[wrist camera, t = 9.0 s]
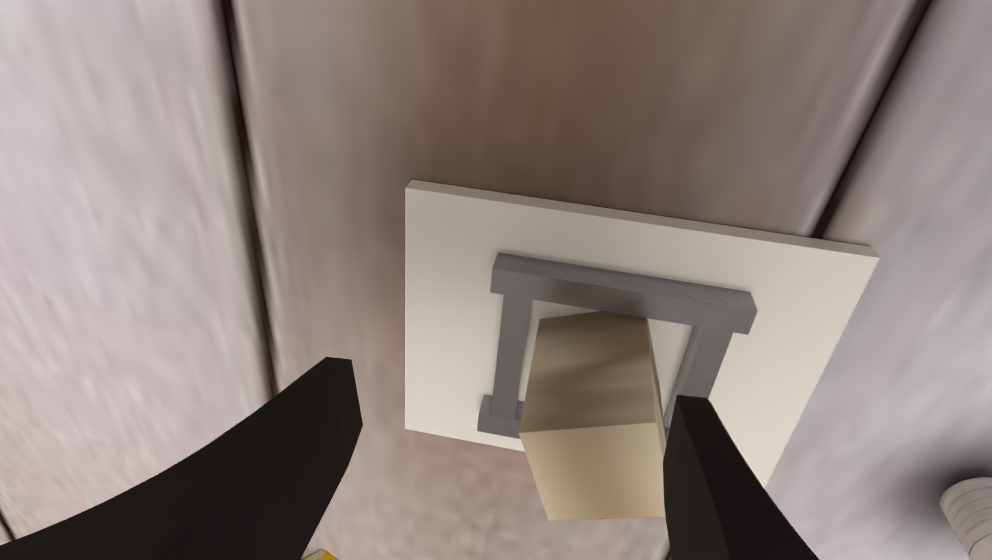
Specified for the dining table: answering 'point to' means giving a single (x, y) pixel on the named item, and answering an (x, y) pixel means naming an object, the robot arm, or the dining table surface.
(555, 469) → the birch block
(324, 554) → the candy box
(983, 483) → the lightbulb
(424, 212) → the socket board
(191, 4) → the dining table surface
